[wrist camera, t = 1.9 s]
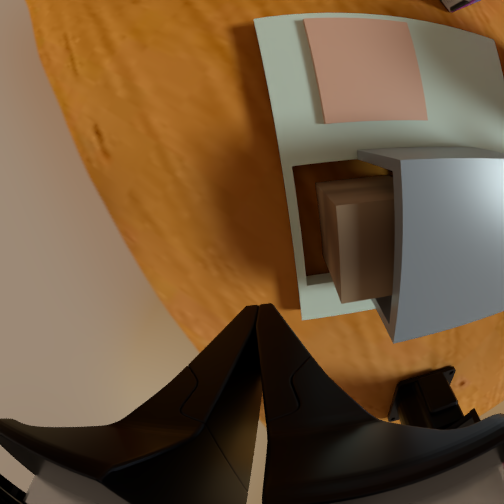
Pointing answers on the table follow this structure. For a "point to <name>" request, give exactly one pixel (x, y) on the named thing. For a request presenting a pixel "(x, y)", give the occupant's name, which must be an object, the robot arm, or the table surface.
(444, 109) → the puzzle board
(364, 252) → the walnut block
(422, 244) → the grey cubic box
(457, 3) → the candy bar box
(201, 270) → the table surface
